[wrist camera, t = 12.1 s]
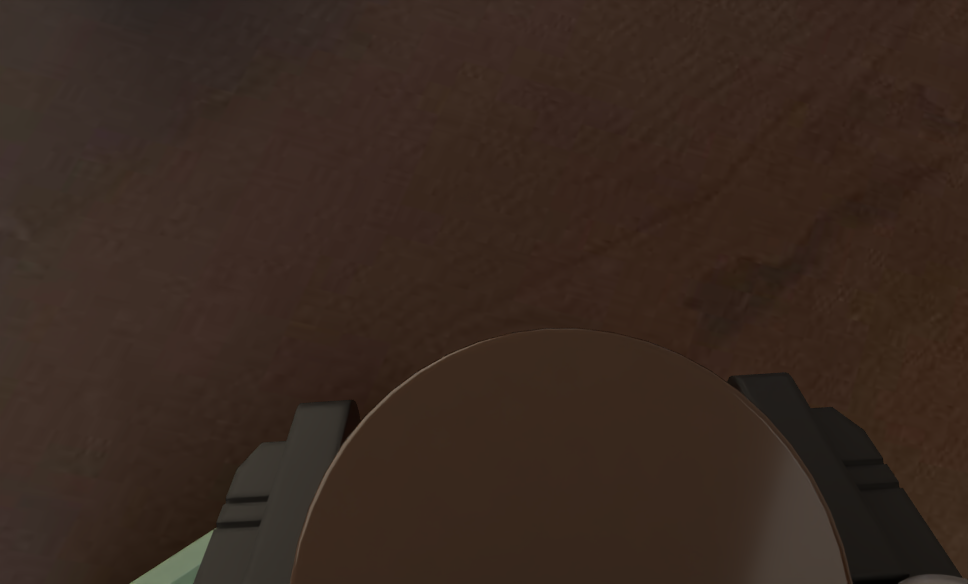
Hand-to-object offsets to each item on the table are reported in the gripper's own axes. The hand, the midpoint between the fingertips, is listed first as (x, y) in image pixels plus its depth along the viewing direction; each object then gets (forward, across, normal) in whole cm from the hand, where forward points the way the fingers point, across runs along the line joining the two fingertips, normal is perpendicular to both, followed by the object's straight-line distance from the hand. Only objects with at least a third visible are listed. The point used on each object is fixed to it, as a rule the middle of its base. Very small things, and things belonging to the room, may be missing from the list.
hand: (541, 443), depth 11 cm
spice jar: (+3, 0, +6) cm, 6 cm away
